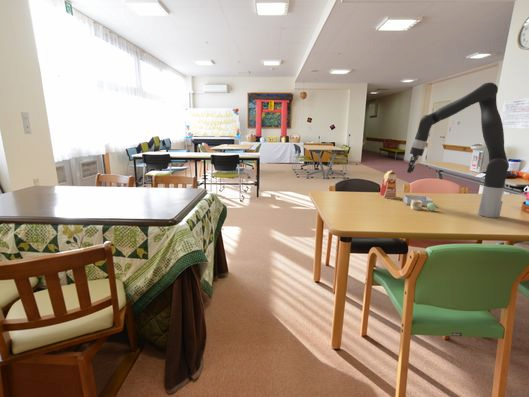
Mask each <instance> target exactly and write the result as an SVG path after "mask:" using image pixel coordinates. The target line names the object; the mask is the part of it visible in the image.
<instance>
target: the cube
mask: <svg viewBox="0 0 529 397" xmlns="http://www.w3.org/2000/svg"><path fill="white" fill-rule="evenodd" d="M422 207H423V206H422V202H421V201H420V200H411V205H410V209H411V210H413V211H414V210H416V211H422Z"/></svg>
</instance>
